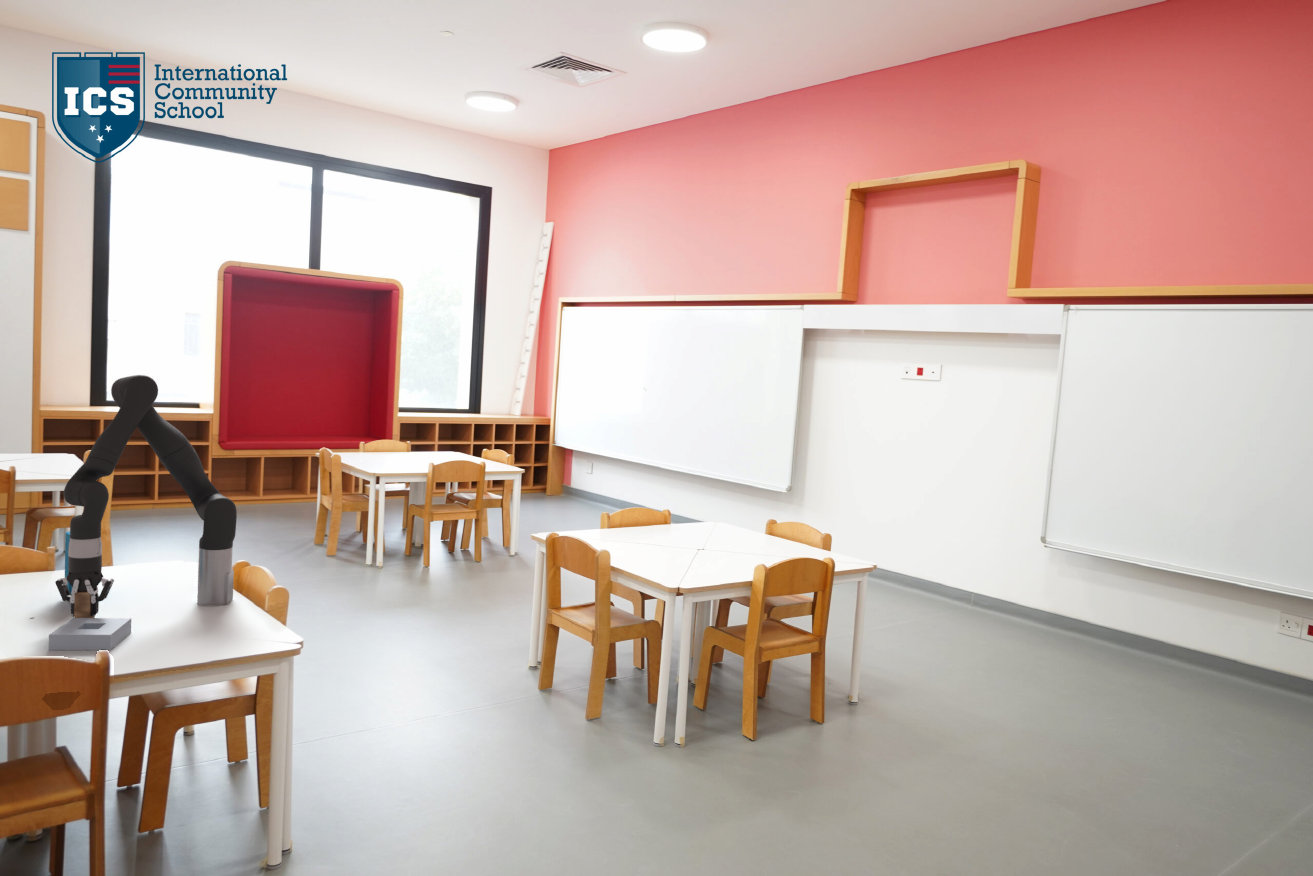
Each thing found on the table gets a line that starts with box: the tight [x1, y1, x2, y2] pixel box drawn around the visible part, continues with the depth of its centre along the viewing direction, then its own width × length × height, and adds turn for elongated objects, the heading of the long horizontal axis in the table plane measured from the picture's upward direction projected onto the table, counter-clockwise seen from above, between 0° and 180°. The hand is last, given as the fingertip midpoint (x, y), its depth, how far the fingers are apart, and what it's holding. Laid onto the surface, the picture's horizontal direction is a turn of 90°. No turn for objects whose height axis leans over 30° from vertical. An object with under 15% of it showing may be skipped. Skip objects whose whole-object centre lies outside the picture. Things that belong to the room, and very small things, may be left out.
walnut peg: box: [73, 590, 96, 618], centre depth 235 cm, size 4×4×10 cm
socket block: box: [48, 617, 132, 651], centre depth 226 cm, size 14×14×4 cm
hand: (84, 615), depth 235 cm, fingers closed on walnut peg, 3 cm apart
